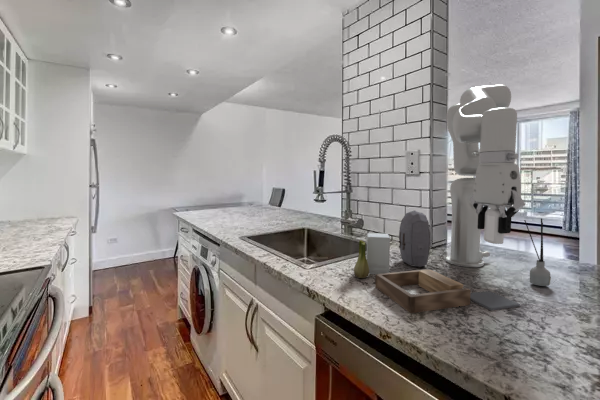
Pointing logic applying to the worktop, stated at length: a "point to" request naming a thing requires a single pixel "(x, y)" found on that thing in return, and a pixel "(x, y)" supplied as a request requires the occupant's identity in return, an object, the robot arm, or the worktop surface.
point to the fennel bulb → (361, 262)
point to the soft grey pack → (414, 239)
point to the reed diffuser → (539, 266)
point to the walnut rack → (418, 302)
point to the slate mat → (492, 300)
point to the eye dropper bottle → (492, 225)
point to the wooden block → (437, 281)
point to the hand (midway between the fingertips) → (493, 230)
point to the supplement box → (378, 253)
